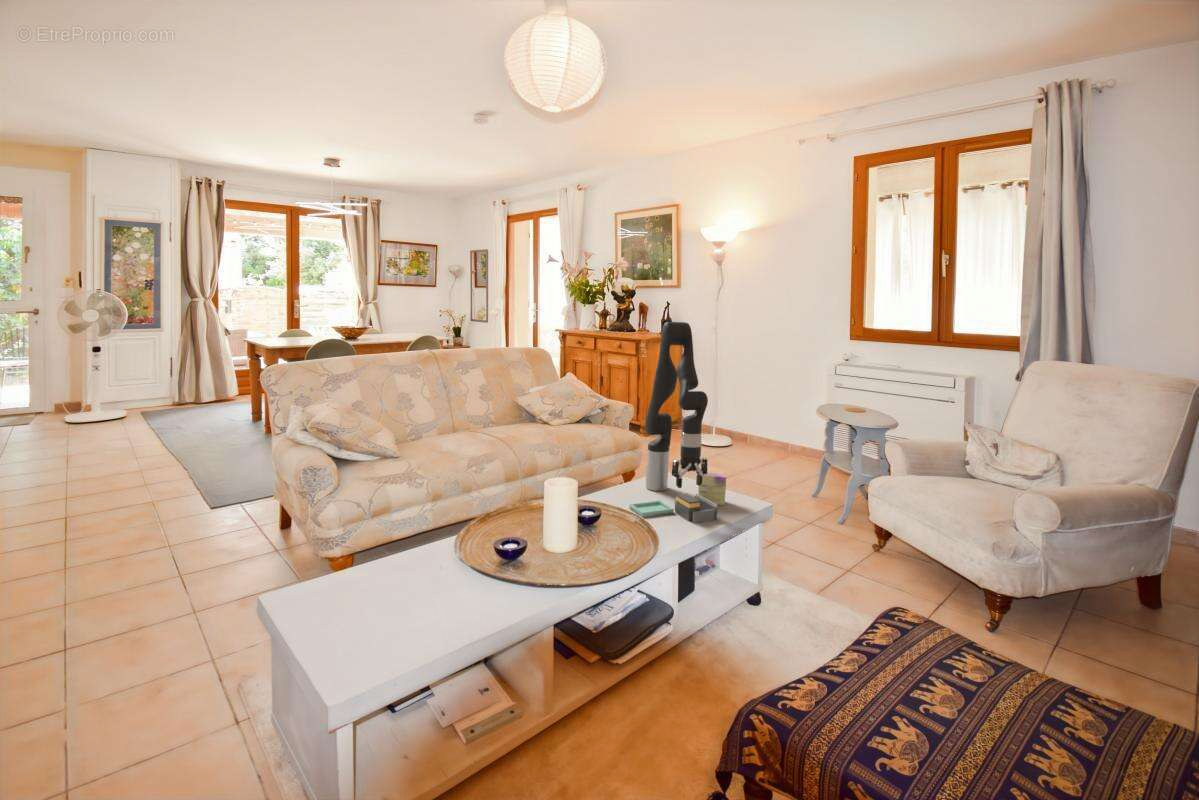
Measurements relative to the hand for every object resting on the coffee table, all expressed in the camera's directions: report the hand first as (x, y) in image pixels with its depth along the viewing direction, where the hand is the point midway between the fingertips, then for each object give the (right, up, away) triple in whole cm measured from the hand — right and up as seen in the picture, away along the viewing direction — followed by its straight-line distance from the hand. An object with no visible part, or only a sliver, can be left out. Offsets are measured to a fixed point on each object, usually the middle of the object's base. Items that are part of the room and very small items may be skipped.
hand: (688, 486), depth 223 cm
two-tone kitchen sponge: (0, -12, +2) cm, 12 cm away
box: (+12, -10, +19) cm, 25 cm away
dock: (+3, -12, +4) cm, 12 cm away
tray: (-14, -11, +7) cm, 19 cm away
